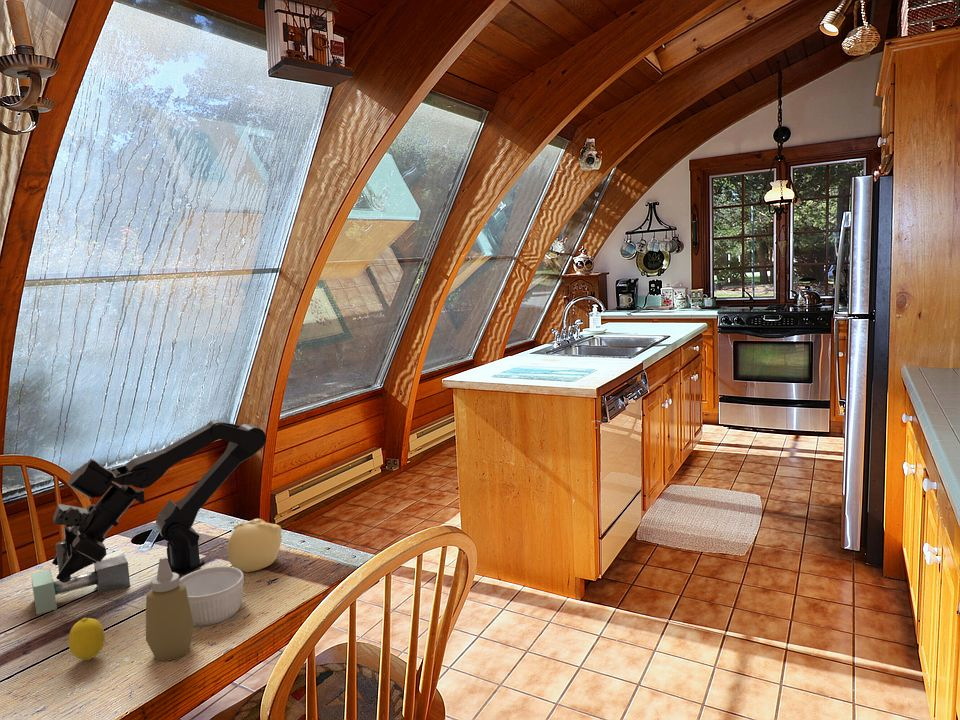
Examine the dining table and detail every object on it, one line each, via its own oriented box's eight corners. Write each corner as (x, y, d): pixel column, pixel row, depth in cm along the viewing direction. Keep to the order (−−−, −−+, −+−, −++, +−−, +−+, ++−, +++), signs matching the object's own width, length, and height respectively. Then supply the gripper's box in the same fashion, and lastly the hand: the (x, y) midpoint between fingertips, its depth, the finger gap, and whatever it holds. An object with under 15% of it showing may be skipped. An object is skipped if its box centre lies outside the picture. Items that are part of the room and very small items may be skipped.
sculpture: (289, 555, 162) (286, 513, 160) (265, 578, 150) (262, 532, 149) (246, 553, 164) (242, 511, 162) (219, 575, 152) (215, 530, 151)
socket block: (53, 594, 145) (50, 568, 144) (57, 609, 139) (53, 582, 138) (34, 600, 143) (30, 573, 142) (36, 614, 137) (33, 587, 136)
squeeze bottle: (148, 670, 116) (138, 572, 114) (147, 647, 123) (137, 555, 121) (198, 657, 120) (189, 562, 117) (194, 635, 127) (186, 545, 124)
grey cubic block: (126, 578, 152) (123, 555, 151) (130, 585, 148) (127, 562, 147) (96, 586, 148) (93, 562, 148) (99, 594, 145) (96, 570, 144)
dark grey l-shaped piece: (102, 579, 148) (97, 532, 147) (104, 584, 146) (99, 536, 144) (38, 596, 141) (32, 547, 140) (39, 601, 139) (33, 551, 137)
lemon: (80, 652, 122) (76, 611, 121) (112, 649, 123) (107, 609, 122) (64, 670, 117) (59, 627, 116) (97, 667, 117) (92, 625, 116)
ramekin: (214, 634, 127) (211, 600, 126) (160, 623, 132) (157, 590, 131) (259, 601, 140) (257, 570, 139) (209, 593, 144) (206, 562, 143)
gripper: (71, 479, 150) (18, 539, 145) (81, 501, 135) (22, 569, 130) (114, 505, 155) (64, 563, 150) (129, 528, 141) (74, 594, 136)
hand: (56, 571), depth 141 cm, fingers open, 9 cm apart
